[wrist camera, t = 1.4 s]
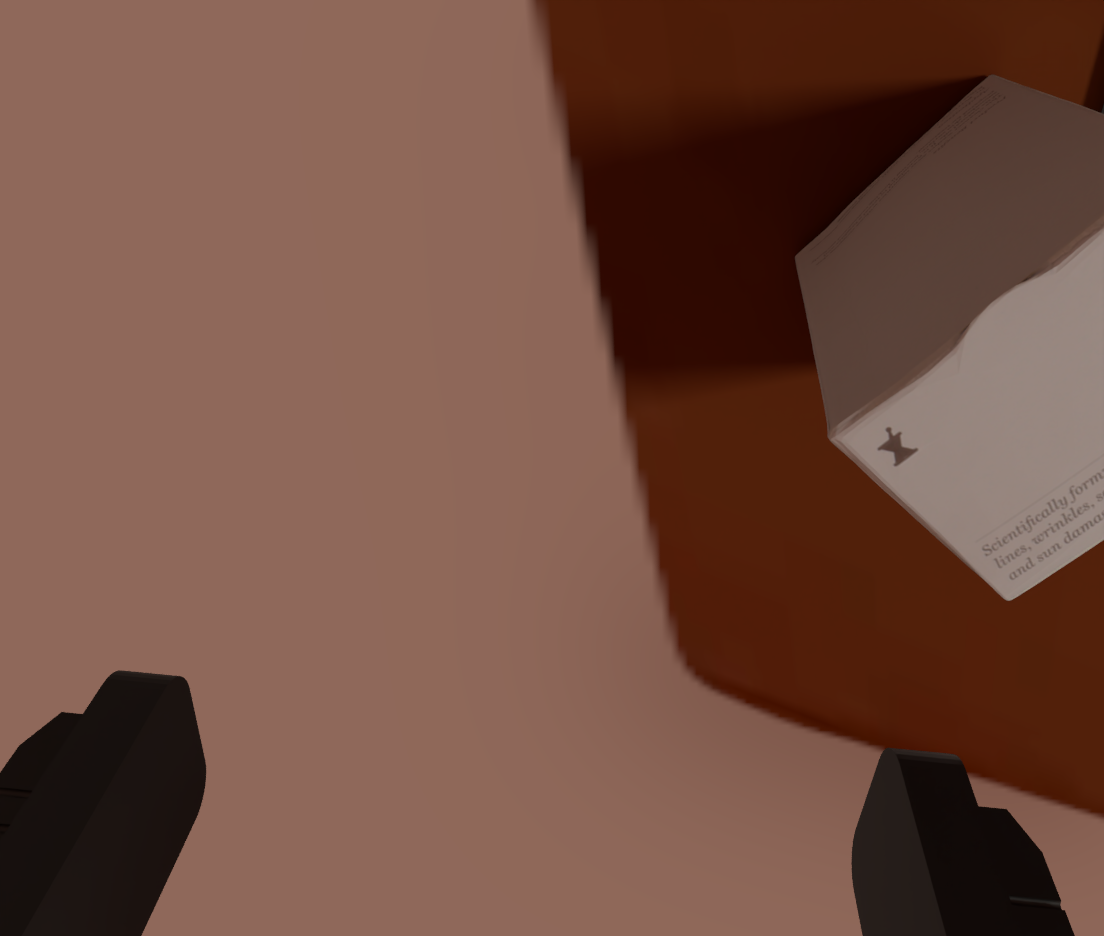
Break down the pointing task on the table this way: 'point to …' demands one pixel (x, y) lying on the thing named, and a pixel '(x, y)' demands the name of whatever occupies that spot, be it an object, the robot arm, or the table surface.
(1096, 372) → the skincare box
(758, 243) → the table surface
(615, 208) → the table surface
